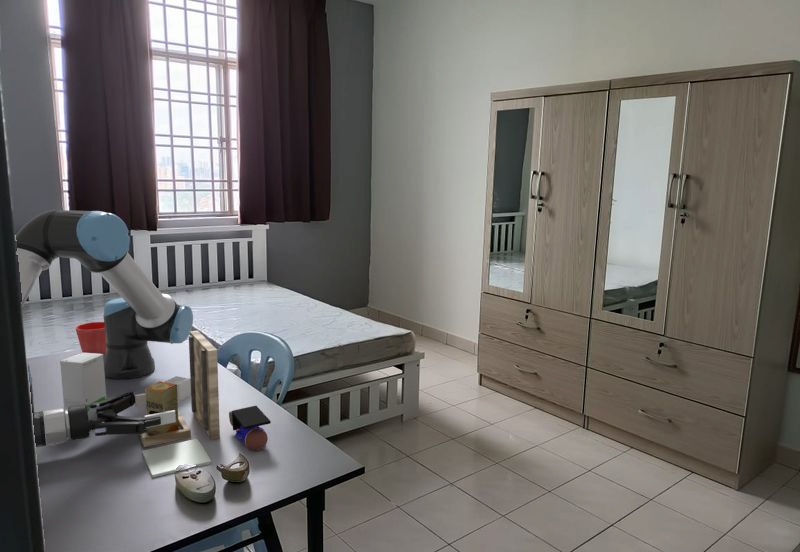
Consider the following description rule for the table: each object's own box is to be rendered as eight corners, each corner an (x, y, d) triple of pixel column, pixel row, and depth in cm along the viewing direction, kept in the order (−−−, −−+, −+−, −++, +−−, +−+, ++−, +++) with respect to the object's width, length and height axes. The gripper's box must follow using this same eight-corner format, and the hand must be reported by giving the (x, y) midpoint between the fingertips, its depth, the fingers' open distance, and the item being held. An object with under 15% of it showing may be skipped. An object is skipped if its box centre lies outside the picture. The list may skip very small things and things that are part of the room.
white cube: (164, 399, 160) (163, 382, 159) (176, 392, 165) (175, 376, 164) (179, 401, 159) (178, 384, 158) (191, 395, 163) (190, 378, 163)
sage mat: (142, 453, 130) (142, 450, 130) (197, 441, 136) (197, 438, 136) (152, 477, 120) (152, 475, 120) (211, 463, 127) (211, 460, 126)
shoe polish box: (164, 439, 137) (162, 391, 135) (147, 435, 138) (145, 388, 136) (178, 430, 141) (176, 384, 139) (162, 427, 143) (159, 381, 141)
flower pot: (86, 348, 201) (84, 321, 199) (118, 348, 202) (117, 321, 200) (71, 358, 190) (69, 329, 188) (106, 358, 191) (104, 330, 189)
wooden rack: (134, 423, 145) (129, 338, 140) (200, 410, 153) (197, 330, 149) (147, 454, 130) (141, 360, 126) (219, 437, 138) (217, 349, 134)
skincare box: (85, 423, 144) (81, 363, 141) (62, 420, 145) (57, 361, 142) (108, 410, 152) (104, 353, 149) (86, 407, 153) (82, 350, 150)
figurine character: (227, 436, 142) (245, 456, 130) (225, 406, 142) (243, 423, 129) (254, 430, 146) (274, 449, 133) (252, 401, 145) (272, 417, 132)
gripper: (65, 418, 139) (159, 401, 150) (73, 464, 118) (181, 441, 130) (63, 389, 138) (158, 374, 149) (70, 430, 117) (180, 409, 128)
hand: (169, 405), depth 139 cm, fingers open, 13 cm apart
